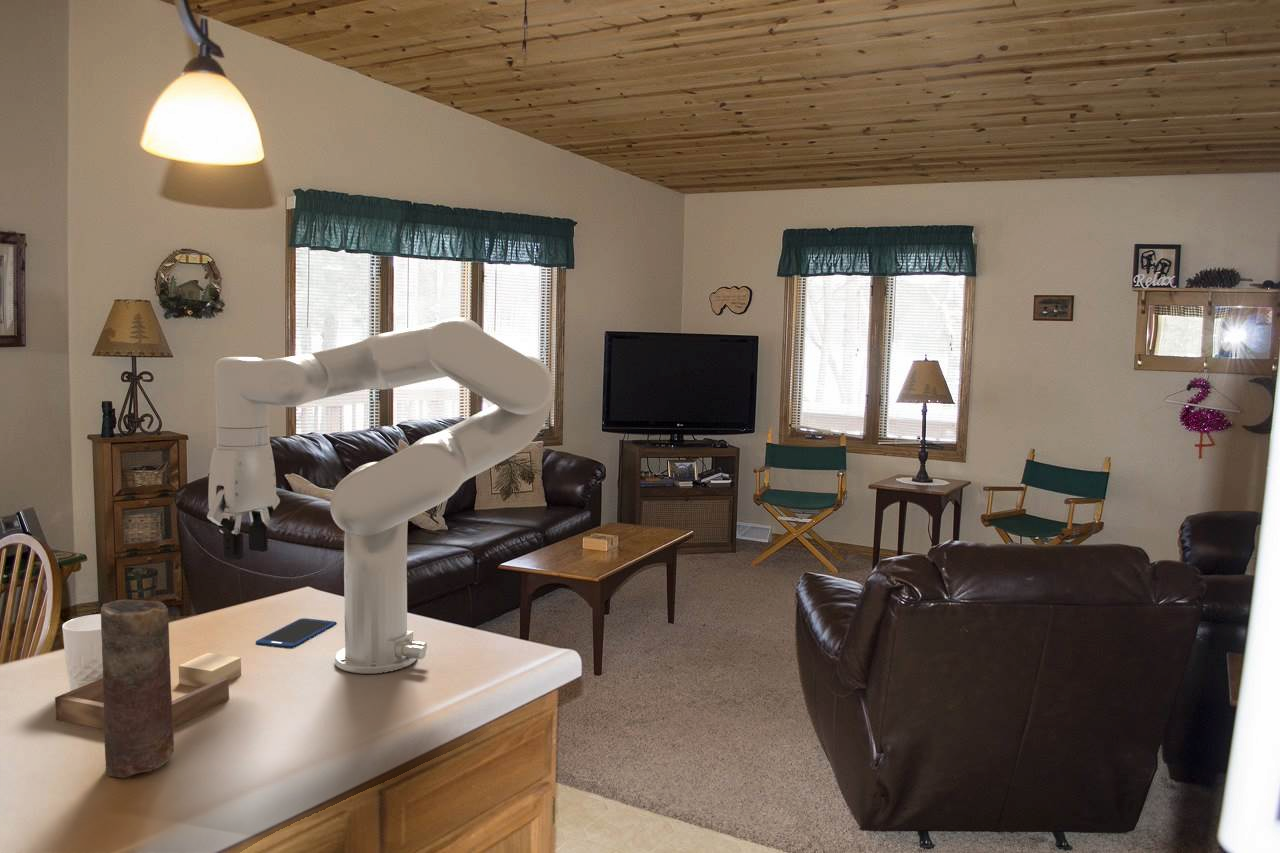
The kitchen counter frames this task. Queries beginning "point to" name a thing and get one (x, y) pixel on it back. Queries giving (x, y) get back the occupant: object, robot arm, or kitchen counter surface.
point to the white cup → (83, 650)
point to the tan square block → (209, 669)
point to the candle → (136, 686)
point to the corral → (89, 703)
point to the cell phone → (296, 633)
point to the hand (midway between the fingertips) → (246, 553)
